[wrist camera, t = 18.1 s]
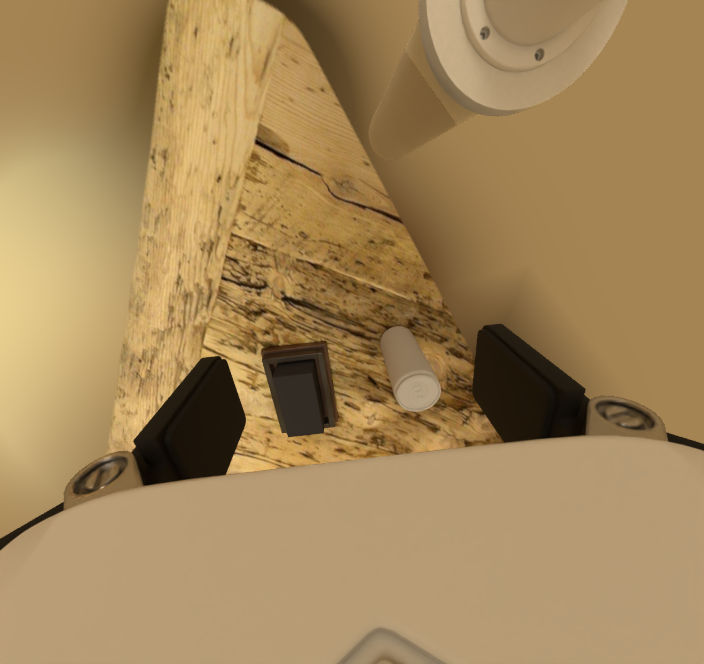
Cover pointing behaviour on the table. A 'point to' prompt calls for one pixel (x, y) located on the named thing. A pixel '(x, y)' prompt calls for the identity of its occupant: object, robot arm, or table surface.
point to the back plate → (323, 370)
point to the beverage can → (409, 370)
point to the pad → (299, 397)
